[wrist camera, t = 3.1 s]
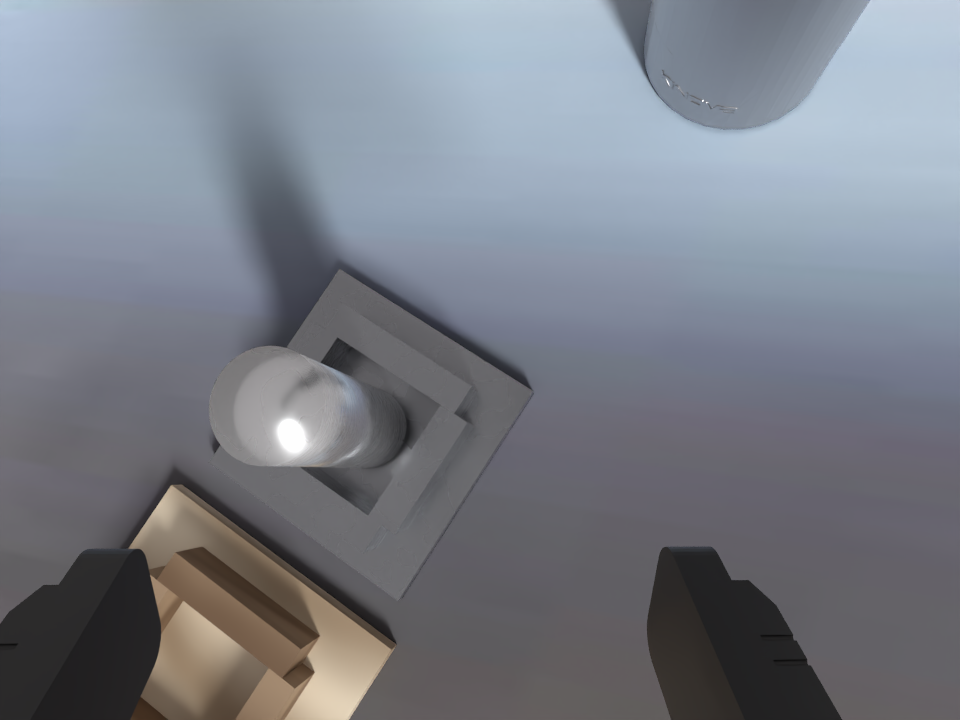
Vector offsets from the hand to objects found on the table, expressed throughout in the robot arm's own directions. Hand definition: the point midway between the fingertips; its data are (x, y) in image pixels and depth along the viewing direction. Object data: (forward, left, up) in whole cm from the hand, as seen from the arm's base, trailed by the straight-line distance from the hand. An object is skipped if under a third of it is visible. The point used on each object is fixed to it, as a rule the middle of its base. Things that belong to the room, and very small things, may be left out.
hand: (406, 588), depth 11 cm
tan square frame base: (+15, -8, -24) cm, 29 cm away
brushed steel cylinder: (+1, -8, -23) cm, 24 cm away
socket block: (+1, -8, -24) cm, 25 cm away
